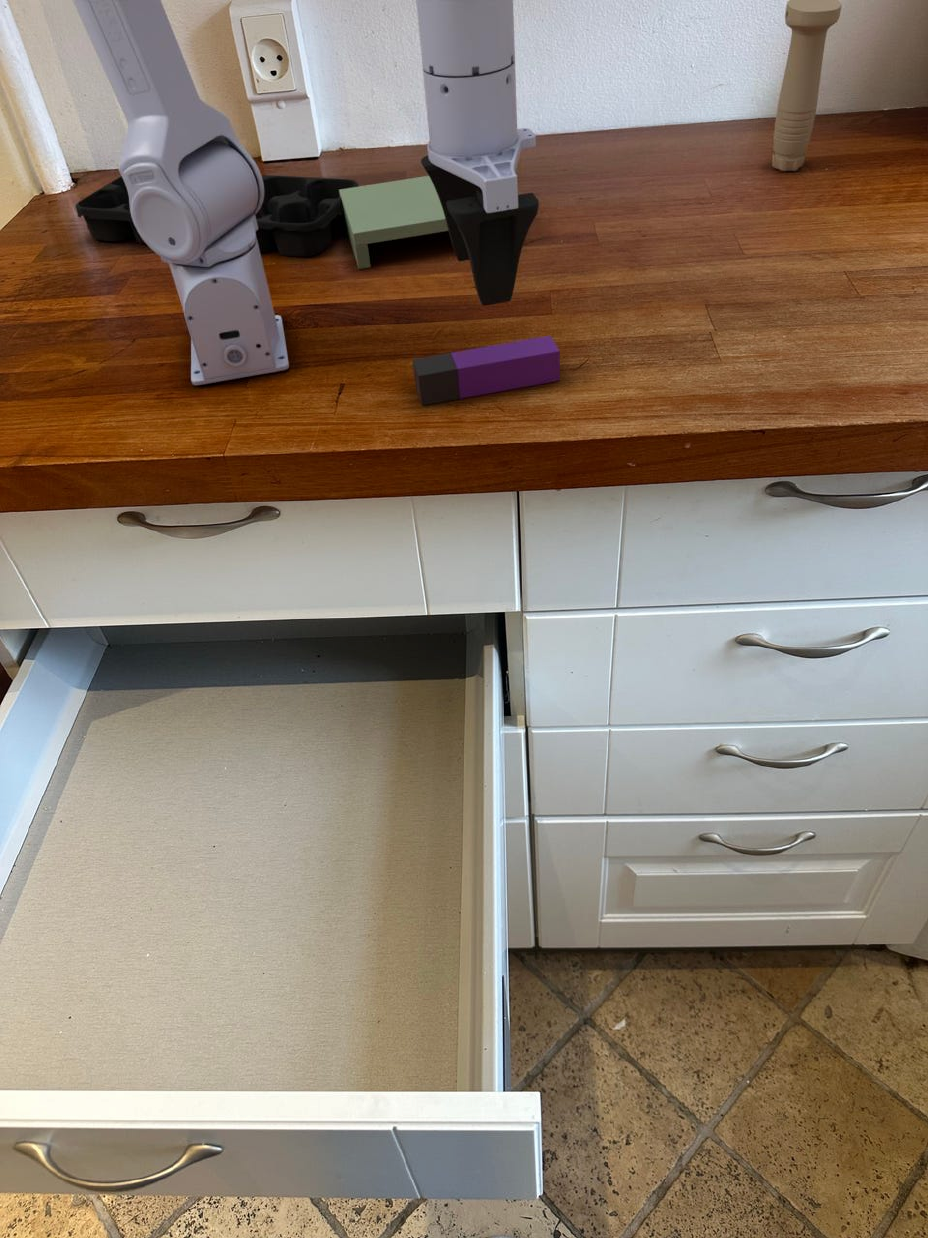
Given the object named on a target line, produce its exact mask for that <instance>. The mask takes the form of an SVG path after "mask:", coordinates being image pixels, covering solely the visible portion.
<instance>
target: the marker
mask: <svg viewBox="0 0 928 1238" xmlns="http://www.w3.org/2000/svg"><path fill="white" fill-rule="evenodd" d="M412 369H413V376H414V383H415V390H416V393H417V396H418V399H419V401H420V402H419V403H420V405H421V406H422V407H423V406H429V405H434V404H439V403H445V402H451V401H455V400H456V401H457V400H460V399H467V398H471V397H477V396H482V395H488V394H489V395H490V394H494V393H498V392H499V393H500V392H505V391H510V390H516V389H523V388H527V387H533V386H538V385H543V384H550V383H555V382H560V381H561V351H560V349H559V347H558V345H557V343H556V342H555V341H554V339H553V337H552V336H551V335H545V336H540V337H534V338H533V337H532V338H529V339H528V338H527V339H521V340H516V341H510V342H506V343H500V344H493V345H487V346H483V347H476V348H471V349H465V350H459V351H454V352H451V353H450V352H447V353H441V354H436V355H430V356H425V357H419V358H413V359H412Z"/></svg>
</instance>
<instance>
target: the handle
mask: <svg viewBox="0 0 928 1238" xmlns="http://www.w3.org/2000/svg"><path fill="white" fill-rule="evenodd" d="M842 6H843V4H842V2H841V1H840V0H788V1H787V2H786V6H785V12H784V13H785V14H784V20H785V25H786V26H787V27H789V28H790V29H791V35H790V36H791V37H790V43H789V48H788V53H787V57H786V63H785V69H784V72H783V73H784V74H783V79H782V82H781V88H780V93H779V98H778V102H777V108H776V116H775V122H774V130H773V131H774V133H773V152H774V154H772V156H771V157H772V158H771V165H772V168H773V169H776V170H779V171H780V172H796V171H798V170H799V168H802V166H803V165H804V162H805V159H806V155H807V154H806V152H807V150H808V147H809V144H810V139H811V138H812V137H811V136H812V132H813V128H814V124H815V123H814V122H815V119H816V115H817V114H816V113H817V108H818V101H819V93H820V84H821V77H822V69H823V68H822V67H823V60H824V52H825V45H826V40H827V39H826V38H827V32H828V30H829V29H830V28H831V27H832V26H834V25H835V24H837V23H838V22H839V19H840V16H841V12H842V11H841V10H842Z"/></svg>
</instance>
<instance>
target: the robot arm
mask: <svg viewBox="0 0 928 1238" xmlns="http://www.w3.org/2000/svg"><path fill="white" fill-rule="evenodd" d="M72 2H73V4H74V7H75V8H76V12H77V13H78V15H79V17H80V19H81V22H82V24H83V27H84V29H85V31H86V33H87V36H88V37H89V39H90V42H91V44H92V46H93V49H94V51H95V53H96V55H97V57H98V60H99V62H100V65H101V66H102V68H103V71H104V73H105V76H106V77H107V80H108V82H109V84H110V87H111V88H112V90H113V93H114V95H115V97H116V100H117V102H118V104H119V106H120V109H121V111H122V113H123V115H124V118H125V120H126V123H127V125H128V126H127V132H126V136H125V139H124V142H123V146H122V149H121V150H122V151H121V153H120V156H119V161H118V172H119V174H120V175H121V176H122V178H123V180H124V182H125V185H126V187H127V191H128V195H129V203H130V212H131V217H132V220H133V222H134V225H135V227H136V229H137V231H138V233H139V234H140V236H141V238H142V239H143V240H144V242H145V243H146V245H147V246H148V248H150V250H151V251H153V252H154V253H155V254H156V255H157V256H159V257H160V259H161V262H162V263H164V264H168V265H169V269H170V272H171V275H172V277H173V281H174V285H175V289H176V291H177V295H178V297H179V301H180V304H181V308H182V311H183V315H184V319H185V323H186V327H187V329H188V333H189V336H190V339H191V340H190V352H191V353H190V357H191V358H190V382H191V384H192V385H193V386H203V385H208V384H213V383H220V382H227V381H231V380H237V379H242V378H248V377H254V376H260V375H265V374H266V375H267V374H271V373H278V372H283V371H287V370H288V369H289V368H290V362H289V356H288V350H287V349H288V348H287V342H286V335H285V330H284V324H283V323H284V322H283V318H282V316H281V315H278V314H277V315H276V314H275V310H274V306H273V305H274V304H273V302H272V301H273V300H272V297H271V293H270V289H269V284H268V280H267V275H266V271H265V267H264V263H263V258H262V253H260V250H259V246H258V241H257V239H256V233H255V232H256V231H257V230H258V225H257V221H256V216H255V214H256V213H257V212H258V211H259V210H260V208H261V206H262V203H263V199H264V183H263V179H262V176H261V175H262V174H261V170H260V168H259V166H258V164H257V162H256V161H255V160H254V158H253V157H252V156H251V154H250V153H249V152H248V150H247V149H246V148H244V146H243V144H242V143H241V141H240V140H239V138H238V136H237V135H236V133H235V130H234V127H233V124H232V122H231V119H230V118H229V117H228V116H227V115H225V114H223V113H222V112H221V111H219V110H218V109H216V108H214V107H213V106H211V105H210V104H208V103H206V102H205V101H203V100H202V99H201V98H200V96H199V93H198V91H197V88H196V84H195V83H194V80H193V78H192V75H191V73H190V70H189V67H188V65H187V62H186V60H185V58H184V55H183V53H182V50H181V47H180V45H179V43H178V40H177V38H176V35H175V32H174V30H173V27H172V25H171V22H170V20H169V18H168V15H167V13H166V10H165V7H164V5H163V2H162V0H72ZM415 3H416V12H417V14H416V15H417V22H418V24H417V25H418V33H419V45H420V53H421V54H420V55H421V61H422V62H421V65H422V77H423V86H424V87H423V88H424V96H425V97H424V98H425V106H426V107H425V108H426V117H427V126H428V137H429V138H428V139H429V140H428V143H427V144H426V145H427V147H426V149H427V155H425V156H423V157H422V158H421V159H420V162H421V165H422V167H423V169H424V170H425V171H426V173H427V176H429V177H430V179H431V181H432V183H433V185H434V187H435V189H436V192H437V194H438V197H439V200H440V203H441V206H442V209H443V212H444V216H445V219H446V223H447V227H448V231H447V232H448V235H449V239H450V242H451V245H452V248H453V251H454V253H455V257H456V259H457V260H458V262H465V261H469V263H470V269H471V273H472V279H473V283H474V287H475V290H476V293H477V296H478V298H479V301H480V303H481V305H482V306H484V307H485V306H493V305H496V304H497V305H498V304H502V303H507V302H511V301H512V298H513V294H514V290H515V286H516V279H517V274H518V270H519V269H518V267H519V263H520V257H521V253H522V249H523V246H524V243H525V241H526V237H527V235H528V233H529V231H530V228H531V227H532V224H533V222H534V221H535V219H536V217H537V215H538V211H539V207H540V203H539V202H540V201H539V198H537V197H536V195H535V193H533V192H528V193H522V194H519V188H518V187H519V186H518V175H517V168H518V165H519V161H520V157H521V152H522V151H524V150H528V149H534V148H535V147H536V146H537V135H536V134H535V132H533V130H532V129H530V128H527V127H525V128H518V107H517V104H518V103H517V78H516V77H517V76H516V74H517V73H516V45H515V19H514V18H515V17H514V0H415ZM121 176H120V177H121ZM145 243H144V244H145Z"/></svg>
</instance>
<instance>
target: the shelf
mask: <svg viewBox="0 0 928 1238" xmlns="http://www.w3.org/2000/svg"><path fill="white" fill-rule="evenodd" d="M339 194H340V198H341V199H342V204H343V209H344V219H345V225H346V229H345V230H346V233H347V236H348V239H349V242H350V246H351V248H352V253H353V255H354V259H355V261H356V264H357V268H358V270H363V269H368V268H369V269H370V268H371V267H372V265H371V259H370V252H369V245H370V244H376V243H382V242H388V241H394V240H399V239H407V238H412V237H418V236H425V235H431V234H437V233H444V232H449V231H448V227H447V223H446V219H445V216H444V212H443V209H442V206H441V203H440V200H439V197H438V194H437V192H436V189H435V187H434V185H433V183H432V181H431V179H430V177H429V175H424V176H418V177H411V178H405V179H399V180H392V181H387V182H386V181H385V182H380V183H379V182H378V183H372V184H366V185H360V186H359V187H353V188H347V189H340V190H339Z"/></svg>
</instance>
